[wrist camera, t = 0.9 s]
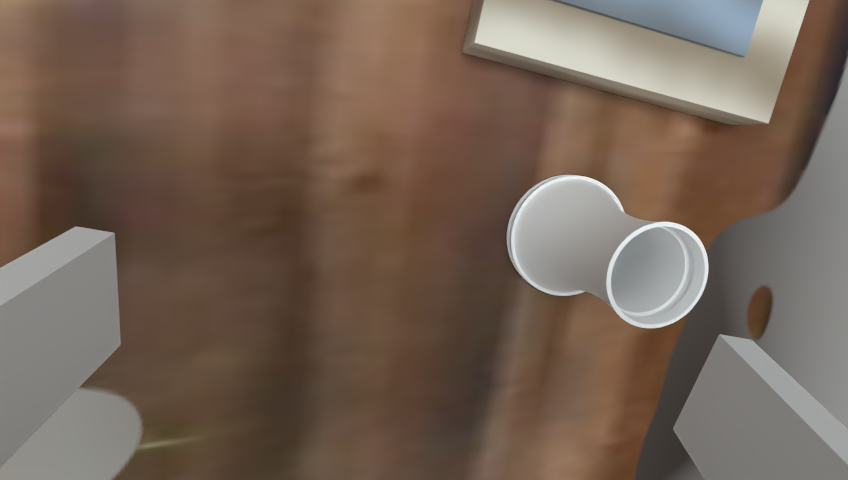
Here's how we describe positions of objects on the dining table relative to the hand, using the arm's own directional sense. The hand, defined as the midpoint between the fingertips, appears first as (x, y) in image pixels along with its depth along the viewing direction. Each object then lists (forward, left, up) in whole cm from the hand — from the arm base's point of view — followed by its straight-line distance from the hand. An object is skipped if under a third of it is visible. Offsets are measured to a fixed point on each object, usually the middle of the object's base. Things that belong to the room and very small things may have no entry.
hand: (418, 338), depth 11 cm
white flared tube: (+1, -12, -19) cm, 23 cm away
